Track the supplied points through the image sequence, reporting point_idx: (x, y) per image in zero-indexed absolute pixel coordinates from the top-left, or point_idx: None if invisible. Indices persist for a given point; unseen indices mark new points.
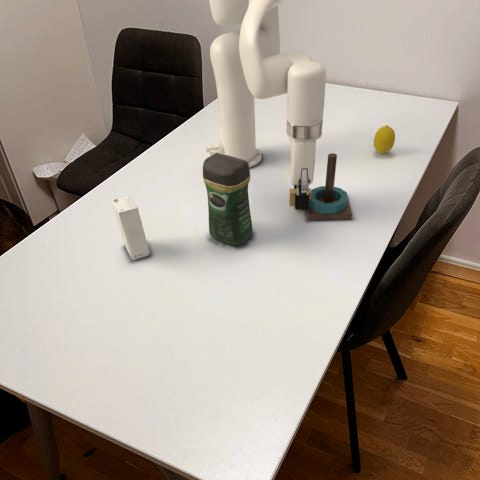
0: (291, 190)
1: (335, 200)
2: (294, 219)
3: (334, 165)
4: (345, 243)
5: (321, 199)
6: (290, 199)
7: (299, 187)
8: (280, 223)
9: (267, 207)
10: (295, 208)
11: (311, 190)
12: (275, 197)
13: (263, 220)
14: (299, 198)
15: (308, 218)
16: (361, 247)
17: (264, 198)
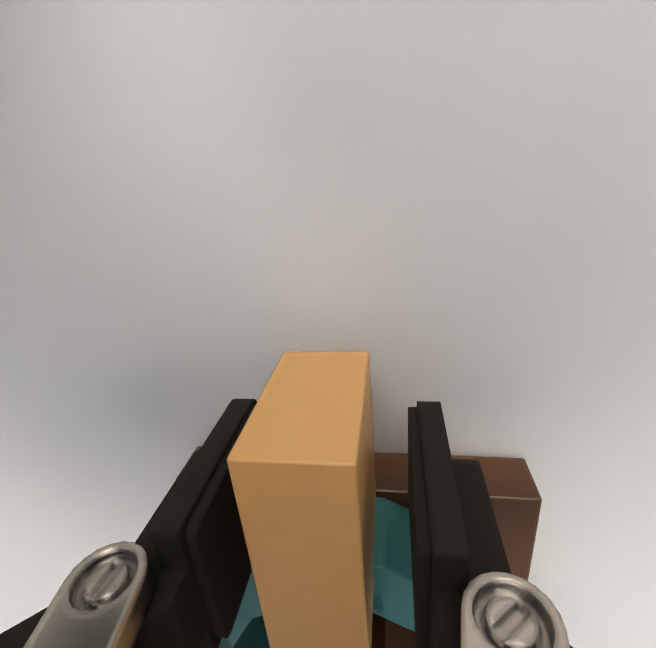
0: (312, 481)
1: (388, 646)
2: (199, 357)
3: None
4: (36, 572)
5: None
6: (257, 404)
7: (415, 569)
8: (120, 245)
9: (387, 88)
10: (234, 403)
11: None
12: (608, 179)
13: (128, 63)
14: (146, 533)
15: (190, 457)
16: (32, 614)
17: (619, 19)
